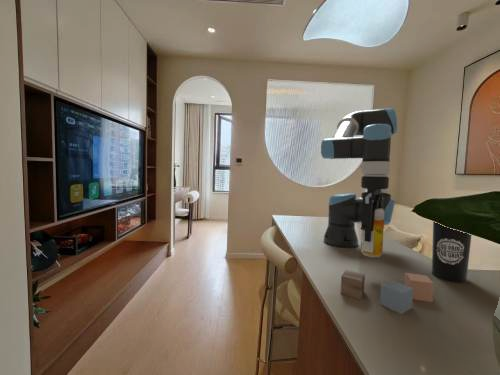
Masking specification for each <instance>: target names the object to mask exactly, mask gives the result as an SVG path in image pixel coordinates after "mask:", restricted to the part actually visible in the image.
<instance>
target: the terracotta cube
mask: <svg viewBox="0 0 500 375" xmlns="http://www.w3.org/2000/svg"><path fill="white" fill-rule="evenodd" d="M434 284H435V283H434V282H433V280H431V279H430V277H428V276H427V275H426V274H425V275H424V274H416V273H409V272H404V284H403V285H406V286H409V287H411V288H413V300H415V301H416V300H417V301H423V302H428V303H429V302H430V303H433V302H434V286H435V285H434Z"/></svg>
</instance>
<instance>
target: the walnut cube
mask: <svg viewBox="0 0 500 375" xmlns="http://www.w3.org/2000/svg"><path fill="white" fill-rule="evenodd" d="M365 277H366V274H364V273H361V272H356V271H352V270H348V269H345V270H344V272H343V273H342V274H341V278H340V279H341V280H340V281H341V283H340V294H341V295H344V296H347V297H350V298H354V299H358V300H362V298H363V295H364V293H365V281H366V280H365V279H366V278H365Z"/></svg>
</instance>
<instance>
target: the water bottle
mask: <svg viewBox="0 0 500 375" xmlns="http://www.w3.org/2000/svg"><path fill="white" fill-rule="evenodd" d="M471 242H472V235H469V234H467V233H463V232H460V231H457V230H453V229H450V228H447V227H444V226H442V225H440V224H438V223H435V222H433V221H432V249H431V251H432V253H431V254H432V255H431V256H432V257H431V262H432V263H431V274H432V275H433V276H434V277H436V278H438V279H441V280H442V281H446V282H451V283H459V284H460V283H466V282H467V279H468V278H467V277H468V269H469V261H470V252H471V251H470V250H471V244H472V243H471Z"/></svg>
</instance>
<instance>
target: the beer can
mask: <svg viewBox="0 0 500 375" xmlns="http://www.w3.org/2000/svg"><path fill="white" fill-rule="evenodd" d="M384 226H385V225H384V210H383V208H378V209H376V210H375V218H374V226H373V231H374V246H373V253H372V252H367V251H363V239H364V230H361V235H360V236H361V238H360V239H361V240H360V252H361V253H362V255H363V256H365V257H367V258H368V257H370V258H380V257H381V256H382V255H383V249H384V248H383V247H384V246H383V245H384V231H385V230H384V229H385V227H384Z"/></svg>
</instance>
